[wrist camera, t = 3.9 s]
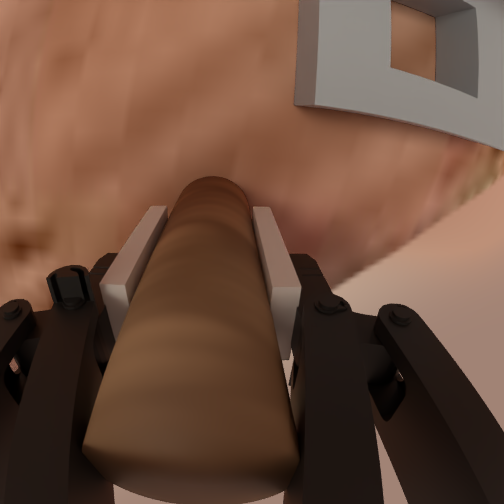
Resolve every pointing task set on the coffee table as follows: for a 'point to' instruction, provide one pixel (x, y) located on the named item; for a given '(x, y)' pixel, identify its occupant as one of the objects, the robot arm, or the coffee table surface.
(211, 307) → the dowel
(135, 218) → the coffee table surface
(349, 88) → the socket block
